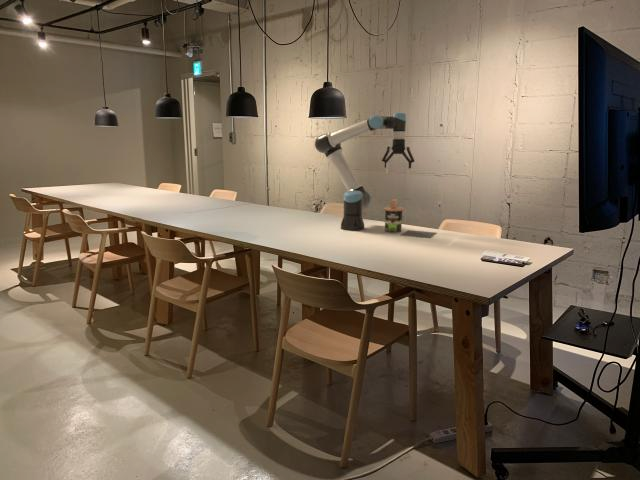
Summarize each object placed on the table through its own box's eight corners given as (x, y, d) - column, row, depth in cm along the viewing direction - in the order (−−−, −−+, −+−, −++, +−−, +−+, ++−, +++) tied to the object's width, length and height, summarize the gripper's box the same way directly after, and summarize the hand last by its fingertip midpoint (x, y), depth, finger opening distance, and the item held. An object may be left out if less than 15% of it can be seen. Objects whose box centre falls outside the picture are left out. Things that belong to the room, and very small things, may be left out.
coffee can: (400, 234, 284) (401, 211, 281) (383, 233, 287) (384, 210, 284) (402, 231, 294) (403, 208, 291) (385, 230, 296) (386, 208, 293)
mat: (399, 236, 279) (399, 235, 279) (408, 230, 295) (408, 230, 295) (430, 239, 272) (430, 238, 272) (437, 233, 288) (437, 232, 288)
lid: (380, 210, 284) (380, 200, 283) (386, 207, 296) (386, 198, 294) (401, 211, 279) (402, 201, 278) (407, 208, 291) (407, 199, 289)
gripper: (377, 138, 295) (376, 173, 299) (417, 138, 284) (415, 174, 289) (381, 138, 302) (380, 172, 306) (420, 138, 291) (418, 173, 295)
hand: (397, 173), depth 297 cm, fingers open, 13 cm apart
